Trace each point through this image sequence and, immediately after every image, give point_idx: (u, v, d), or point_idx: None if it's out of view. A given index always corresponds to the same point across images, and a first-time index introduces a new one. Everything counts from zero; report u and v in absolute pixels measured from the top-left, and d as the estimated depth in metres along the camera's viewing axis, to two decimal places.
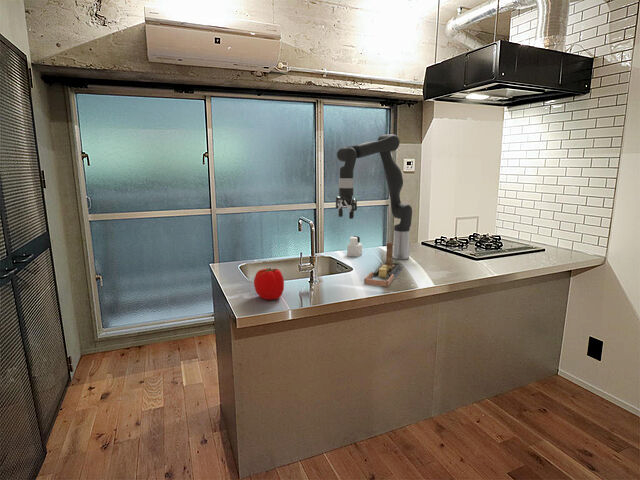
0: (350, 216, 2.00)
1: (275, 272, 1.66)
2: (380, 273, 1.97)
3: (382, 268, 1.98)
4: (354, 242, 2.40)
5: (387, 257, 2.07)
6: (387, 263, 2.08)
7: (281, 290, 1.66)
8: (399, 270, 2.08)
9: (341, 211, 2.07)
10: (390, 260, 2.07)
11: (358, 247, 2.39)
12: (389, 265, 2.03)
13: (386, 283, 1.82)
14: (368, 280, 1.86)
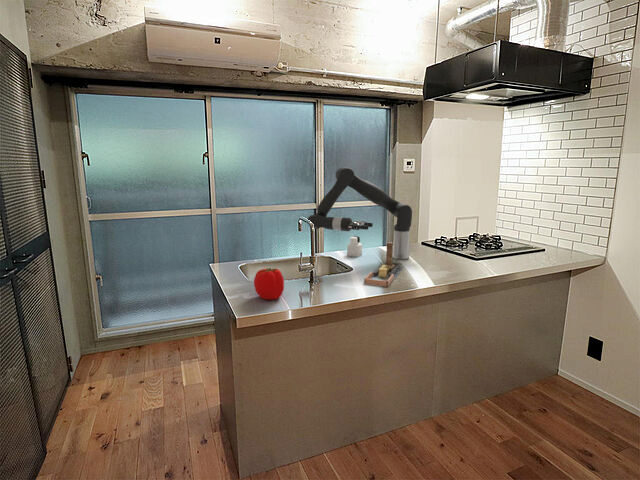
0: (365, 229, 2.05)
1: (275, 272, 1.66)
2: (380, 273, 1.97)
3: (382, 268, 1.98)
4: (354, 242, 2.39)
5: (387, 257, 2.07)
6: (387, 263, 2.08)
7: (281, 290, 1.66)
8: (399, 270, 2.08)
9: (367, 224, 2.13)
10: (390, 260, 2.07)
11: (358, 247, 2.39)
12: (389, 265, 2.03)
13: (386, 283, 1.82)
14: (368, 280, 1.86)
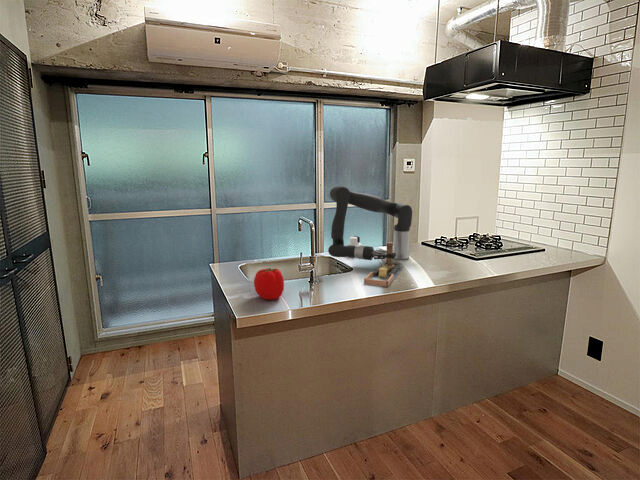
0: None
1: (275, 272, 1.66)
2: (380, 273, 1.97)
3: (382, 268, 1.98)
4: (354, 242, 2.40)
5: None
6: (387, 263, 2.08)
7: (281, 290, 1.66)
8: (399, 270, 2.08)
9: None
10: (390, 260, 2.07)
11: None
12: (389, 265, 2.03)
13: (386, 283, 1.82)
14: (368, 280, 1.86)
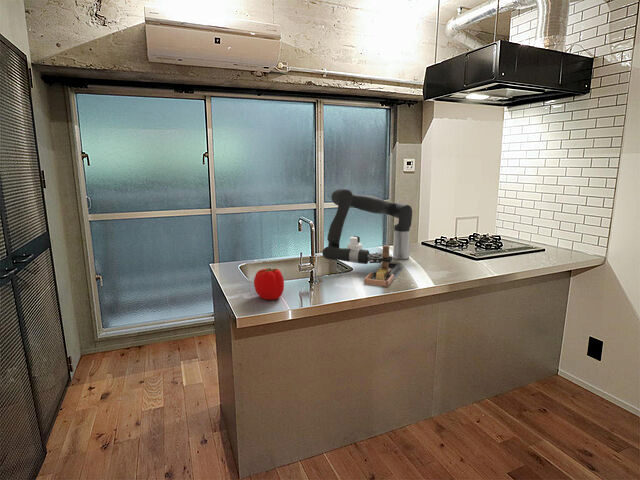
0: None
1: (275, 272, 1.66)
2: (377, 277, 1.92)
3: (379, 272, 1.93)
4: (354, 242, 2.39)
5: None
6: (383, 267, 2.00)
7: (281, 290, 1.66)
8: (399, 270, 2.08)
9: None
10: (386, 264, 1.99)
11: (358, 247, 2.39)
12: (386, 268, 1.97)
13: (386, 283, 1.82)
14: (368, 280, 1.86)
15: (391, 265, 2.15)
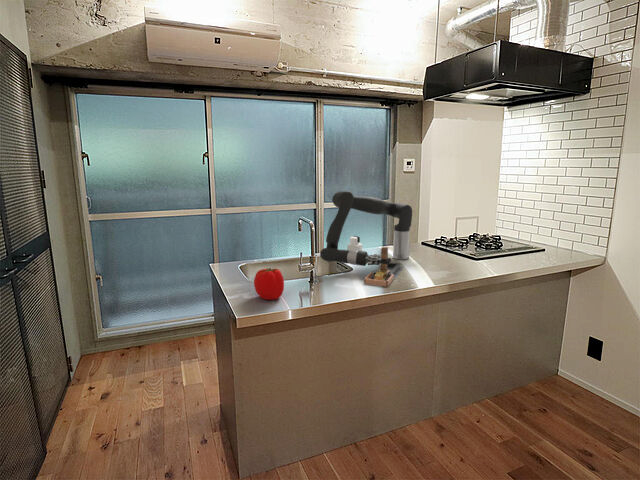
0: (386, 263, 1.95)
1: (275, 272, 1.66)
2: (375, 279, 1.89)
3: (378, 274, 1.90)
4: (354, 242, 2.40)
5: None
6: (382, 269, 1.97)
7: (281, 290, 1.66)
8: (399, 270, 2.08)
9: None
10: (384, 266, 1.96)
11: (358, 247, 2.39)
12: None
13: (386, 283, 1.82)
14: (368, 280, 1.86)
15: (391, 265, 2.15)
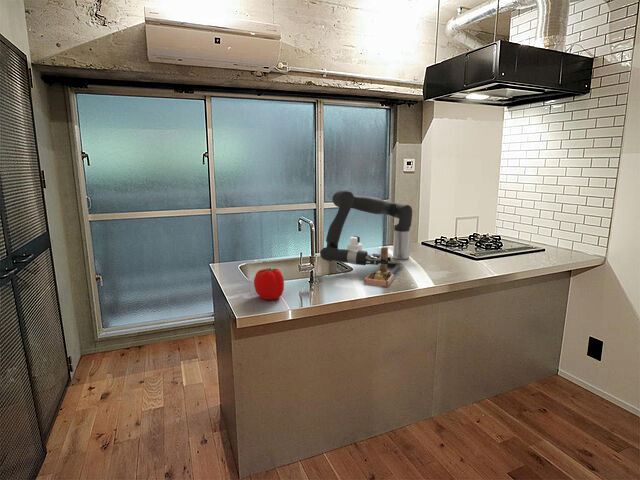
0: (385, 263, 1.94)
1: (275, 272, 1.66)
2: (375, 279, 1.89)
3: (378, 274, 1.90)
4: (354, 242, 2.39)
5: None
6: (381, 269, 1.97)
7: (281, 290, 1.66)
8: (399, 270, 2.08)
9: None
10: (384, 266, 1.96)
11: (358, 247, 2.39)
12: (384, 271, 1.94)
13: (386, 283, 1.82)
14: (368, 280, 1.86)
15: (391, 265, 2.15)
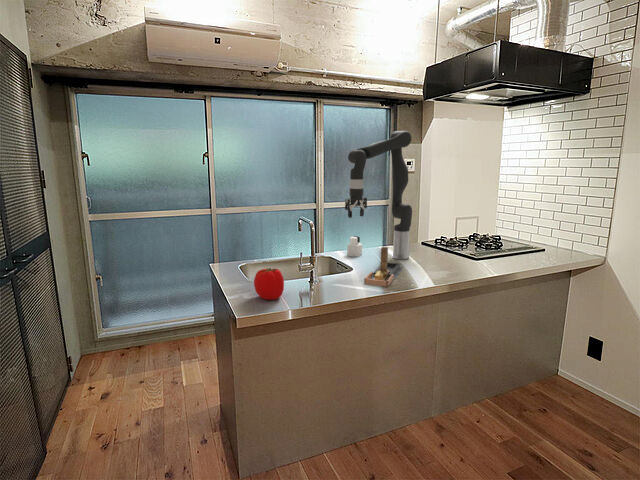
0: None
1: (275, 272, 1.66)
2: (375, 279, 1.89)
3: (378, 274, 1.90)
4: (354, 242, 2.40)
5: (381, 263, 1.96)
6: (381, 269, 1.97)
7: (281, 290, 1.66)
8: (399, 270, 2.08)
9: (361, 211, 2.16)
10: (384, 266, 1.96)
11: (358, 247, 2.39)
12: (384, 271, 1.94)
13: (386, 283, 1.82)
14: (368, 280, 1.86)
15: (391, 265, 2.15)
